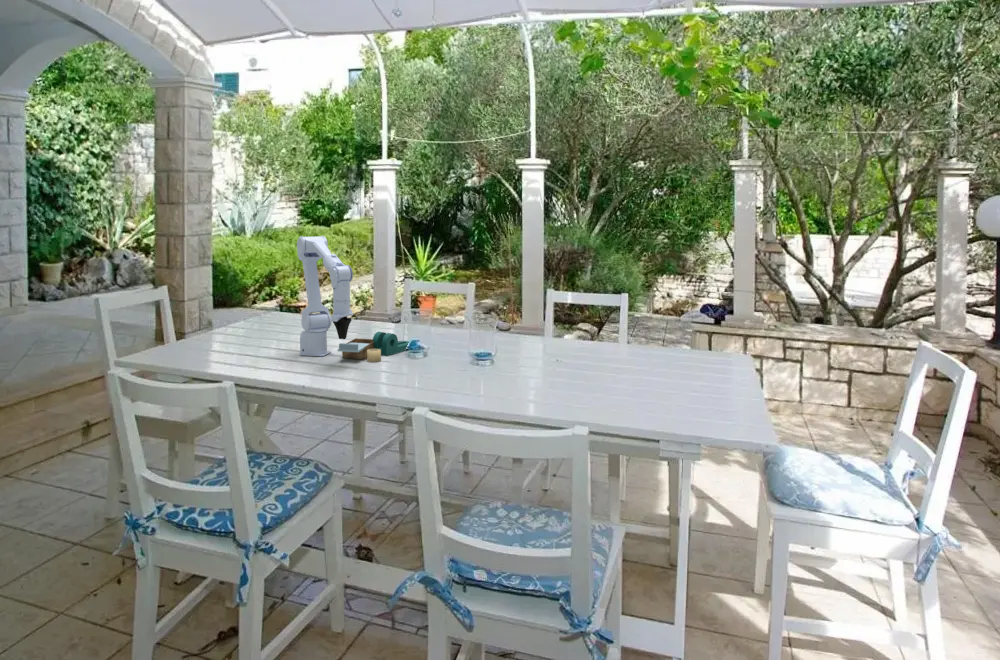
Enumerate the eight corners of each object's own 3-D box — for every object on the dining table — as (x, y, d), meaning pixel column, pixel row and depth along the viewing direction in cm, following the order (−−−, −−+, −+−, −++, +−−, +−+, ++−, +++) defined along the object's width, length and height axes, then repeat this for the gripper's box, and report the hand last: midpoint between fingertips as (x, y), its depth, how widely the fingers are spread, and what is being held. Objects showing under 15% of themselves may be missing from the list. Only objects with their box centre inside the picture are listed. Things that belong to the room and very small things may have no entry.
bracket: (386, 355, 279) (386, 335, 277) (372, 353, 282) (372, 333, 280) (415, 348, 294) (415, 328, 293) (401, 345, 297) (401, 326, 296)
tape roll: (365, 361, 269) (364, 350, 268) (369, 359, 274) (369, 347, 273) (378, 362, 268) (378, 351, 267) (382, 359, 273) (382, 348, 272)
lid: (337, 351, 267) (337, 343, 267) (350, 344, 280) (350, 337, 279) (358, 352, 266) (358, 345, 265) (370, 345, 278) (370, 338, 278)
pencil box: (342, 358, 274) (342, 345, 273) (355, 350, 287) (355, 338, 287) (365, 359, 272) (365, 346, 272) (378, 351, 286) (378, 339, 285)
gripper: (344, 303, 251) (345, 343, 253) (359, 298, 265) (360, 335, 267) (325, 302, 252) (326, 342, 254) (341, 297, 266) (341, 334, 268)
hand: (342, 338), depth 261 cm, fingers closed
